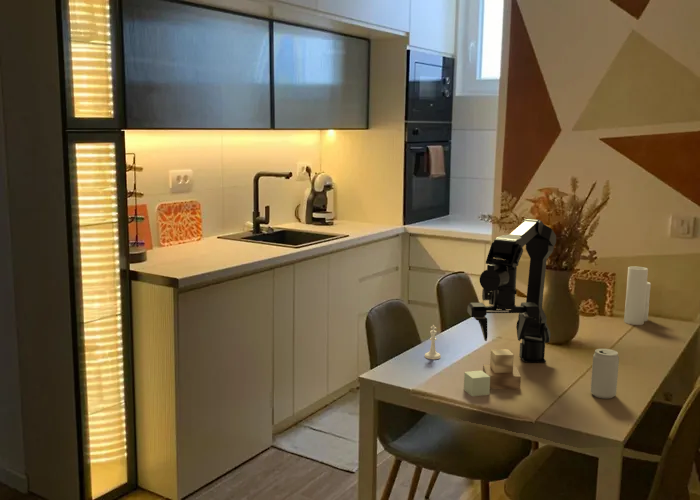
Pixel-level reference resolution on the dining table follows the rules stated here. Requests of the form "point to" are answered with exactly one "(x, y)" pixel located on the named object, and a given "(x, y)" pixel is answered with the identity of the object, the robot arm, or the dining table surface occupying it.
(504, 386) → the pedestal
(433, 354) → the chess piece
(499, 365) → the oak cube
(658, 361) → the dining table surface
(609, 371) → the beverage can
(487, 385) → the sage block
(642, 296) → the vase
